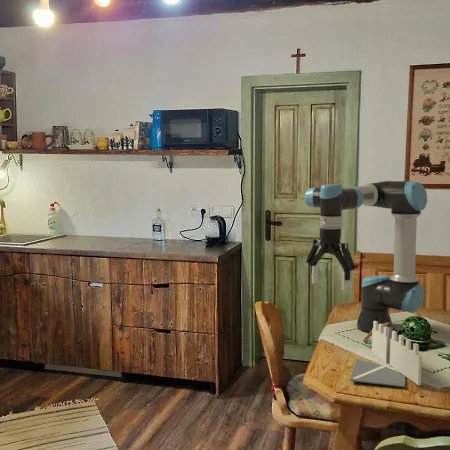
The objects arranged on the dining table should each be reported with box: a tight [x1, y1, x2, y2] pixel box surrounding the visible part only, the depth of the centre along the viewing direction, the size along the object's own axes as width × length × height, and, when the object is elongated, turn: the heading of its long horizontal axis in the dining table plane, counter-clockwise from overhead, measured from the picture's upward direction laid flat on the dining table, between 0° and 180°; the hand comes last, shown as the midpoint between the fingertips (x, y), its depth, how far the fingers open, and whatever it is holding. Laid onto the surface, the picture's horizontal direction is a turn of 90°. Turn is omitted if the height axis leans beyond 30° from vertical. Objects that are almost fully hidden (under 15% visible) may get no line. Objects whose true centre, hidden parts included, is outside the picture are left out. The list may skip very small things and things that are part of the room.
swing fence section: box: [390, 330, 423, 386], centre depth 198 cm, size 20×1×13 cm, turn 11°
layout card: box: [349, 358, 406, 388], centre depth 208 cm, size 34×18×1 cm, turn 161°
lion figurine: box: [362, 322, 391, 346], centre depth 230 cm, size 15×5×9 cm, turn 140°
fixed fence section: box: [371, 321, 394, 364], centre depth 215 cm, size 14×2×14 cm, turn 11°
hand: (329, 286), depth 203 cm, fingers open, 13 cm apart
